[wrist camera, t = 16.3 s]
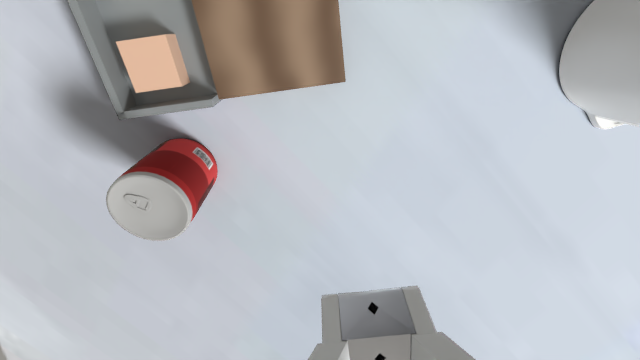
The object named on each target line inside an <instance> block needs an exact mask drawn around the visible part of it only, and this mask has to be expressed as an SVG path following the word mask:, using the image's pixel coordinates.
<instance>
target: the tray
mask: <svg viewBox="0 0 640 360" xmlns="http://www.w3.org/2000/svg"><path fill="white" fill-rule="evenodd" d="M67 1H68V3H69V5H70V8H71V10H72V12H73V15H74V17H75V19H76V21H77V24H78V26H79V28H80V31H81V33H82V35H83V38H84V40H85V42H86V44H87V47H88V49H89V51H90V54H91V56H92V58H93V61H94V63H95V65H96V67H97V70H98V72H99V74H100V77H101V79H102V81H103V84H104V86H105V88H106V90H107V93H108V95H109V97H110V100H111V102H112V104H113V107H114V109H115V111H116V113H117V116H118V118H119V120H123V119H130V118H137V117H144V116H152V115H159V114H166V113H173V112H180V111H187V110H194V109H201V108H208V107H214V106H215V105H216V104H217V103H218V102H220V101H221V99H219V98H218V95H217V91H216V87H215V84H214V80H213V76H212V73H211V69H210V66H209V62H208V58H207V55H206V51H205V48H204V44H203V40H202V37H201V33H200V30H199V26H198V22H197V19H196V15H195V11H194V8H193V4H192V1H191V0H67ZM164 34H175V35H176V38H177V42H178V45H179V48H180V51H181V54H182V58H183V61H184V64H185V67H186V70H187V74H188V77H189V80H190V83H188V84H186V85H184V86H181V87H174V88H167V89H160V90H153V91H146V92H139V93H136V92H135V89H134V87H133V84H132V82H131V79H130V77H129V74H128V72H127V69H126V66H125V64H124V61H123V59H122V56H121V54H120V51H119V49H118V46H117V44H116V42H117V41H124V40H131V39H137V38H144V37H151V36H158V35H164Z"/></svg>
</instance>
